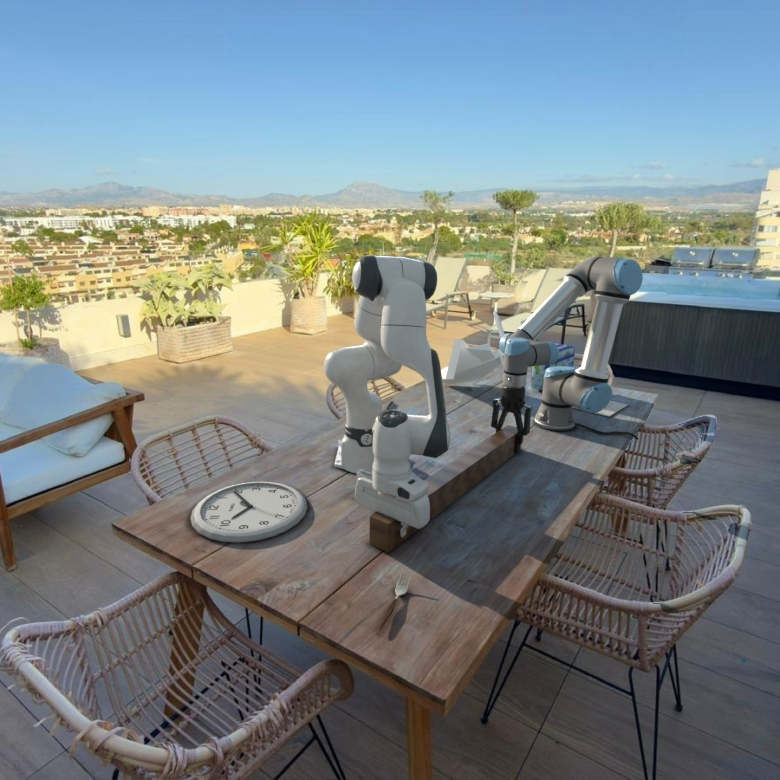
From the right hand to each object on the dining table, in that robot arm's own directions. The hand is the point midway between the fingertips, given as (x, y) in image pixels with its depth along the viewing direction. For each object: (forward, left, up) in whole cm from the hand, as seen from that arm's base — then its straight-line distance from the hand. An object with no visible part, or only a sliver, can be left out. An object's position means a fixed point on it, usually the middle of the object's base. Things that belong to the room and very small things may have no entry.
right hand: (508, 449), depth 179 cm
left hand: (+34, +59, +2) cm, 68 cm away
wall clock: (+72, +51, -1) cm, 88 cm away
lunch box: (-28, -79, -1) cm, 84 cm away
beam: (+17, +29, -1) cm, 34 cm away
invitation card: (-45, -54, -1) cm, 70 cm away
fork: (+30, +82, -1) cm, 87 cm away
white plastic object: (+7, -66, -1) cm, 67 cm away
